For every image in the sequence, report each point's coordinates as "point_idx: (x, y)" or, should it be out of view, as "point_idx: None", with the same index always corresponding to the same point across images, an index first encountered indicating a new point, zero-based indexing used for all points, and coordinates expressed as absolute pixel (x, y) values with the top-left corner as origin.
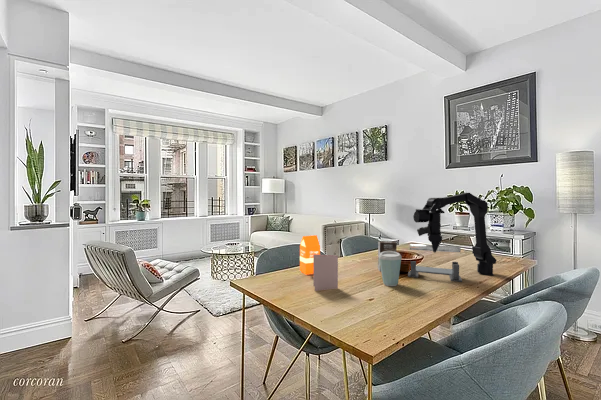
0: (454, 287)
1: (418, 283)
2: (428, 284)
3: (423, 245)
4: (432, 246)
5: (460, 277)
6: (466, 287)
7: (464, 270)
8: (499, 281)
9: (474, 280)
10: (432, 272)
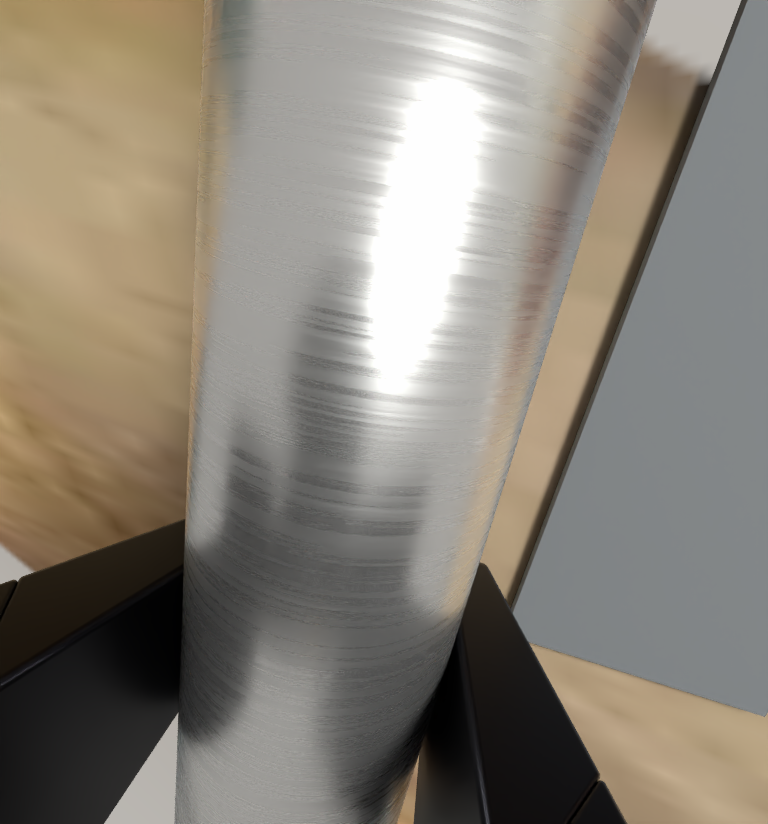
0: (69, 423)
1: (56, 48)
2: (65, 179)
3: (219, 120)
4: (24, 585)
5: None
6: (109, 521)
7: (756, 782)
8: None
9: None
10: (603, 374)
